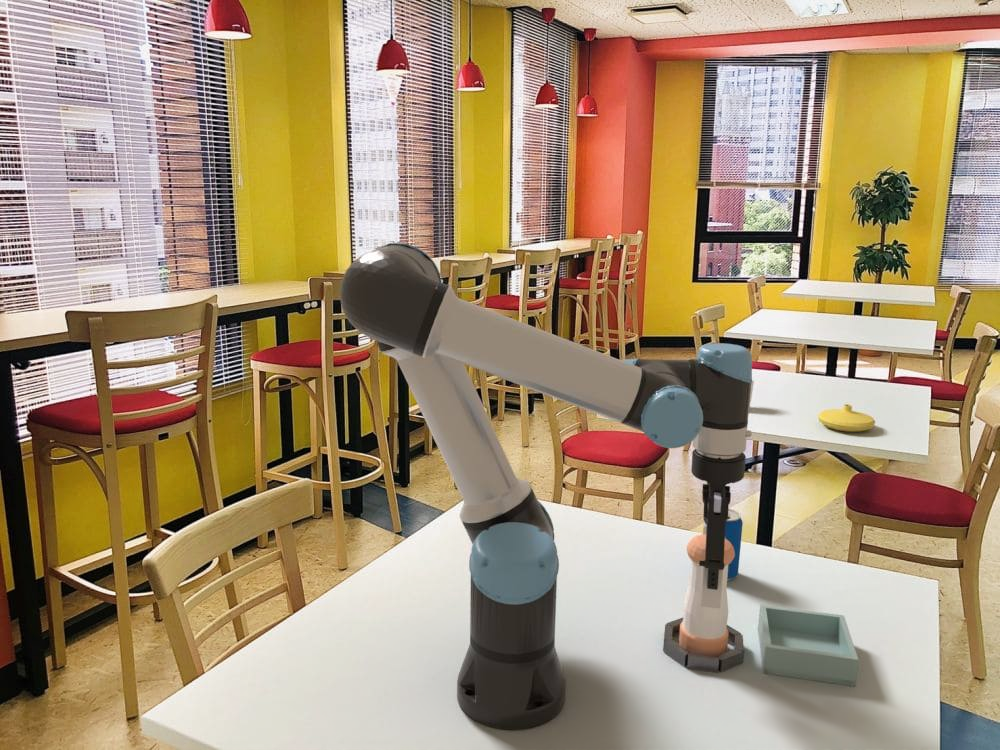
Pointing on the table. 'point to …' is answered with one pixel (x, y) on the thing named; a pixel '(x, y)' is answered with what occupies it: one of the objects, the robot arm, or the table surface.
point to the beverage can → (733, 540)
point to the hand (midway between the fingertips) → (710, 584)
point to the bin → (806, 645)
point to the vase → (846, 419)
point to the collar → (703, 660)
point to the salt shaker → (704, 624)
